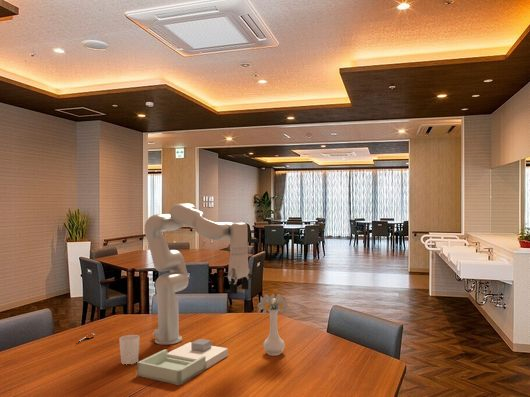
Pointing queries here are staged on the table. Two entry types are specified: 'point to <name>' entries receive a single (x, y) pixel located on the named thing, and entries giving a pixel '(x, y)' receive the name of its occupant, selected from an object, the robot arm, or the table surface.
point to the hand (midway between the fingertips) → (239, 291)
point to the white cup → (129, 349)
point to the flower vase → (273, 322)
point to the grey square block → (201, 345)
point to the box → (169, 368)
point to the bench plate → (199, 354)
